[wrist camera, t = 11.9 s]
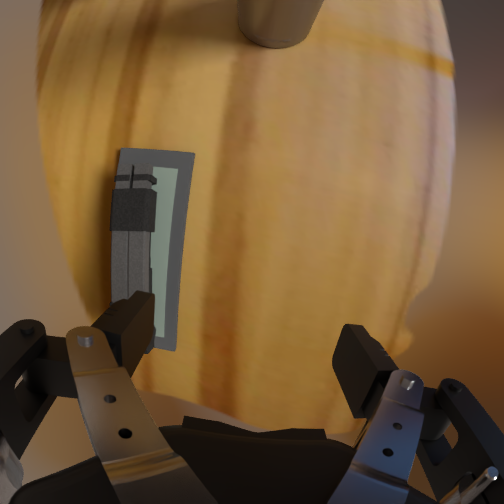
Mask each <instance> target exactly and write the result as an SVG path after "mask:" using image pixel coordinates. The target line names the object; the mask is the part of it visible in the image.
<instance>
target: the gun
mask: <svg viewBox="0 0 504 504" xmlns="http://www.w3.org/2000/svg"><path fill="white" fill-rule="evenodd" d="M114 182H116V187H115V189H114V190H113V191H112V202H111V216H110V231H112V238H111V300H112V302H110V306H111V305H112V304H113V303H114V302H116V301H119V300H121V299H129V298H130V297H131V296H132V295H133V294H134V293H135V291H136V290H140V291H144V292H149V293H152V268H151V257H150V254H151V232H155V219H156V203H157V192H156V191H154V190H153V189H151V188H152V185H157V178H155V177H154V176H153V166H152V165H151V164H150V163H135V166H134V165H133V164H118V169H117V176H115V180H114ZM155 335H156V328H155V326H154V331H153V336H152V339H151V342H150V344H149V345H148V347H147V349H146V351H145V353H144V354H148V353H149V352H150V351H151V350H152V349H153V347H154V340H155Z"/></svg>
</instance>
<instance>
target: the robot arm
mask: <svg viewBox="0 0 504 504" xmlns="http://www.w3.org/2000/svg"><path fill="white" fill-rule="evenodd" d="M323 1H324V0H237V7H238V24H239V27H240V29H241V31H242V32H243V34H244V35H245V36H246V37H247V38H248V39H250V40H251V41H253V42H255V43H257V44H259V45H262V46H266V47H270V48H286V47H290V46H294V45H296V44H298V43H300V42H301V41H303V40H304V39H305V38H306V37H307V35H308V34H309V32H310V29H311V27H312V25H313V23H314V21H315V19H316V17H317V14H318V12H319V10H320V8H321V6H322V4H323ZM154 313H155V294H154V293H149V292H144V291H140V290H136V291H135V293H134V294H133V295H132V296H131V297H130V298H129V299H121V300H119V301H116V302H114V303H113V304H112V305H111V306H110V307H109V308H108V309H107V310H106V311H105V312H104V314H102V315H101V316H100V317H99V318H98V319H97V320H96V321H95V322H94V323H93V324H92V325H91V326H80V327H76V328H73V329H71V330H70V331H68V333H67V334H66V338H65V337H55V336H47V335H46V330H45V327H44V325H43V324H42V323H41V322H39V321H36V320H32V319H26V320H20V321H18V322H16V323H14V324H13V325H12V326H10V327H9V328H8V329H7V330H6V331H5V332H3V333H2V334H1V335H0V504H504V434H503V433H502V432H501V430H500V429H499V428H498V426H497V425H496V424H495V422H494V421H493V420H492V418H491V417H490V416H489V415H488V413H487V412H486V411H485V409H484V408H483V407H482V406H481V404H480V403H479V402H478V401H477V399H476V398H475V397H474V396H473V394H472V393H471V392H470V391H469V389H468V388H467V387H466V386H465V385H464V384H463V383H461V382H459V381H457V380H455V379H450V378H446V379H443V380H442V381H441V383H440V385H439V386H438V388H437V389H434V388H428V387H424V383H423V381H422V379H421V378H420V377H419V376H417V375H416V374H414V373H412V372H410V371H406V370H399V368H398V367H397V366H396V364H395V363H394V362H393V360H392V359H391V357H390V356H388V353H387V352H386V351H384V350H385V349H384V348H383V347H382V345H381V344H380V343H379V342H378V341H376V340H375V339H374V338H372V337H371V336H370V335H369V333H368V332H367V331H366V329H365V328H364V327H363V326H362V325H354V324H345V325H344V326H343V328H342V331H341V334H340V337H339V340H338V343H337V346H336V348H335V351H334V354H333V358H332V366H333V369H334V372H335V374H336V376H337V379H338V381H339V383H340V386H341V388H342V390H343V393H344V395H345V398H346V400H347V402H348V405H349V407H350V410H351V412H352V414H353V417H354V418H366V419H367V421H366V422H365V424H364V426H363V427H362V429H361V431H360V433H359V435H358V437H357V439H356V440H355V442H354V444H353V446H352V447H351V446H349V445H346V444H344V443H342V442H339V441H336V440H331V439H327V438H326V434H325V431H324V429H297V428H291V429H284V430H277V431H269V432H260V433H257V432H252V431H248V430H245V429H241V428H238V427H235V426H231V425H228V424H225V423H222V422H219V421H212V420H206V419H200V418H194V417H189V416H184V419H183V423H182V425H172V426H163V427H159V428H158V427H157V425H156V424H155V422H154V420H153V419H152V417H151V415H150V413H149V412H148V410H147V408H146V407H145V405H144V403H143V401H142V399H141V397H140V395H139V394H138V392H137V390H136V388H135V386H134V384H133V382H132V380H131V377H132V375H133V373H134V371H135V369H136V367H137V365H138V364H139V362H140V360H141V358H142V356H143V354H144V353H145V351H146V349H147V347H148V345H149V344H150V342H151V339H152V336H153V331H154ZM21 375H22V377H23V380H22V381H21V382H20V383H19V385H18V386H17V387H16V388H15V384H16V382H17V380H18V379H19V378H20V376H21ZM57 396H61V397H69V398H77V399H78V403H79V406H80V410H81V413H82V417H83V420H84V423H85V426H86V429H87V432H88V435H89V438H90V441H91V444H92V447H93V449H94V452H95V455H96V456H94V457H92V458H90V459H88V460H85V461H83V462H80V463H78V464H76V465H74V466H71V467H69V468H66V469H64V470H61V471H59V472H56V473H53V474H51V475H48V476H46V477H43V478H40V479H37V480H34V481H32V482H30V483H27V484H25V485H23V486H22V480H23V475H24V472H23V467H22V465H21V463H20V461H19V460H20V458H21V456H22V454H23V453H24V451H25V449H26V447H27V446H28V444H29V442H30V440H31V439H32V437H33V435H34V434H35V432H36V430H37V428H38V427H39V425H40V423H41V422H42V420H43V418H44V417H45V415H46V414H47V412H48V410H49V409H50V407H51V405H52V404H53V402H54V401H55V399H56V397H57ZM451 422H452V424H453V425H454V427H455V429H456V430H457V432H458V442H457V444H456V445H455V447H454V448H453V449H452V448H451V446H450V444H449V443H448V441H447V439H446V438H445V436H444V434H443V433H444V432H445V430H446V429H447V428H448V426H449V425H450V423H451ZM415 453H416V454H417V456H418V458H419V460H420V463H421V465H422V467H423V469H424V472H425V474H426V476H427V478H428V481H429V483H430V485H431V487H432V490H433V492H434V495H435V497H436V499H437V502H436V501H435V500H433V499H431V498H430V497H428V496H426V495H425V494H423V493H421V492H420V491H418V490H416V489H415V488H413V487H412V486H410V485H408V484H407V481H408V477H409V474H410V471H411V467H412V464H413V461H414V457H415Z"/></svg>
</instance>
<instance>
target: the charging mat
mask: <svg viewBox="0 0 504 504" xmlns="http://www.w3.org/2000/svg"><path fill="white" fill-rule="evenodd" d="M194 158H195V153H190V152H179V151H167V150H154V149H138V148H121V152H120V159H119V164H133V165H134V166H135V163H150V164H151V165H152V166H153V176H154V177H155V178H157V185H152V188H151V189H153V190H154V191H156V192H157V203H156V219H155V232H151V254H150V257H151V268H152V293H154V294H155V313H154V326H155V328H156V335H155V340H154V348H159V349H164V350H169V351H175V350H176V343H177V322H178V305H179V290H180V277H181V265H182V254H183V244H184V235H185V225H186V217H187V208H188V200H189V193H190V185H191V178H192V171H193V165H194ZM111 302H112V300H111Z"/></svg>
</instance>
